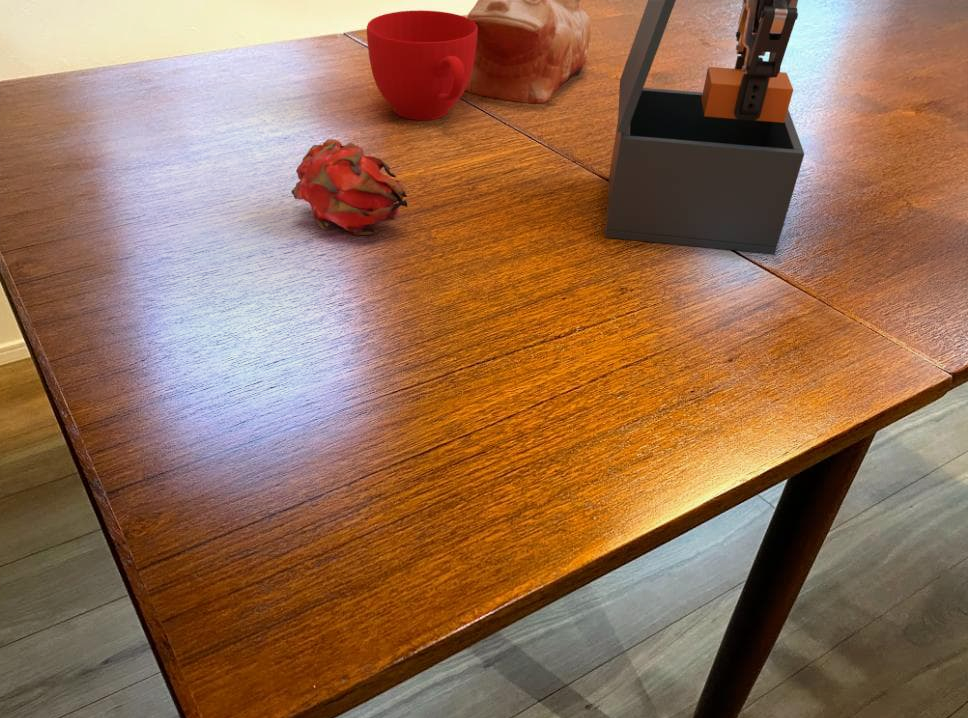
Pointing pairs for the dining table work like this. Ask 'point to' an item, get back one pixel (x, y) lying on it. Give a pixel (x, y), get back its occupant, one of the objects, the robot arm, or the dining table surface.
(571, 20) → the ceramic vessel
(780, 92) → the packet
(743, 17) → the robot arm
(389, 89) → the ceramic cup
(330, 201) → the dragon fruit
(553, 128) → the dining table surface
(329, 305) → the dining table surface
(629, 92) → the box lid
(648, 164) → the storage bin
